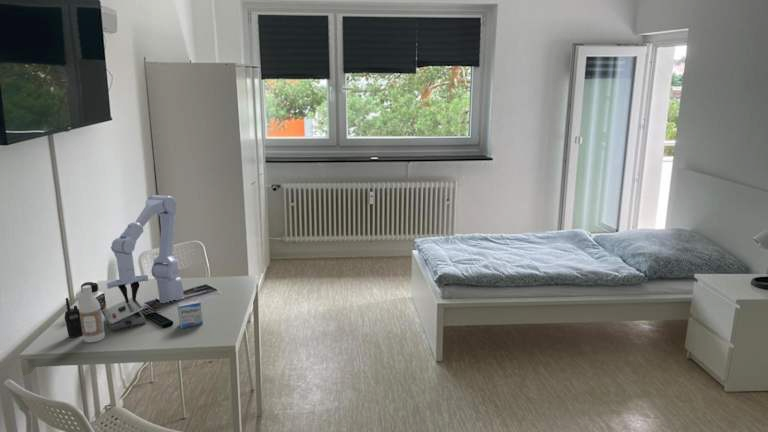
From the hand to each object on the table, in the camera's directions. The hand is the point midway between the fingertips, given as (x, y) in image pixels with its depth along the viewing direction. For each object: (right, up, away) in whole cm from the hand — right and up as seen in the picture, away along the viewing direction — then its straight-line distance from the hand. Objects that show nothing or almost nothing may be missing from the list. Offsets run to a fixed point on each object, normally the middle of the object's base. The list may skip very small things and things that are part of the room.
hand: (130, 301), depth 229 cm
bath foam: (-6, -11, -16) cm, 21 cm away
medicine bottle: (-19, -5, +9) cm, 22 cm away
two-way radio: (-15, -10, -13) cm, 22 cm away
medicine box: (+26, -8, -6) cm, 28 cm away
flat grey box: (-1, -7, -3) cm, 8 cm away
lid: (-1, -3, -4) cm, 5 cm away
